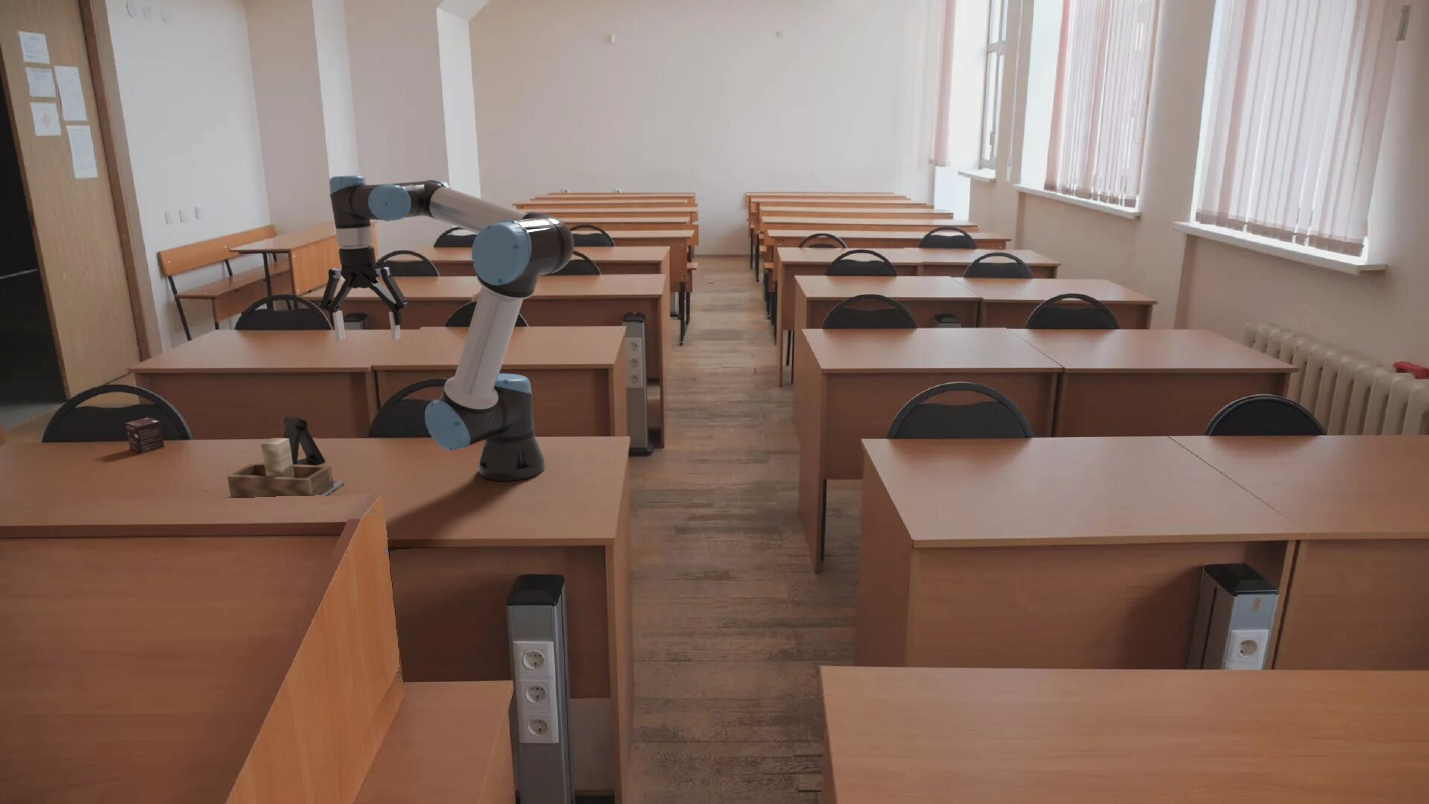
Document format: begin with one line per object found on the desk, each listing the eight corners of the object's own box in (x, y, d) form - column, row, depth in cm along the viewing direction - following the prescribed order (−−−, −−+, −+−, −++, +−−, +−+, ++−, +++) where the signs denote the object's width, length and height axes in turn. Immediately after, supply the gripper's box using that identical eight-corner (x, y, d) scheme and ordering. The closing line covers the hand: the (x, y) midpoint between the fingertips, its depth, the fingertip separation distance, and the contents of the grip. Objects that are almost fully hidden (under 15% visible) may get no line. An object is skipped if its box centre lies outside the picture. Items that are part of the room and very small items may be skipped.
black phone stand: (289, 472, 223) (281, 424, 220) (277, 467, 227) (270, 419, 224) (325, 462, 230) (318, 415, 226) (313, 457, 234) (307, 411, 230)
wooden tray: (344, 484, 215) (341, 460, 213) (302, 512, 200) (298, 486, 198) (265, 480, 218) (262, 457, 217) (219, 507, 203) (214, 482, 202)
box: (129, 450, 242) (124, 422, 240) (154, 443, 247) (149, 416, 245) (141, 454, 239) (135, 426, 237) (165, 447, 243) (160, 420, 241)
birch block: (296, 489, 210) (288, 438, 207) (285, 496, 207) (277, 444, 203) (280, 488, 211) (272, 437, 208) (269, 495, 207) (261, 443, 204)
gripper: (416, 243, 212) (427, 335, 218) (313, 245, 216) (327, 336, 221) (400, 247, 205) (412, 342, 211) (295, 249, 208) (309, 343, 214)
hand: (369, 339), depth 216 cm, fingers open, 13 cm apart
